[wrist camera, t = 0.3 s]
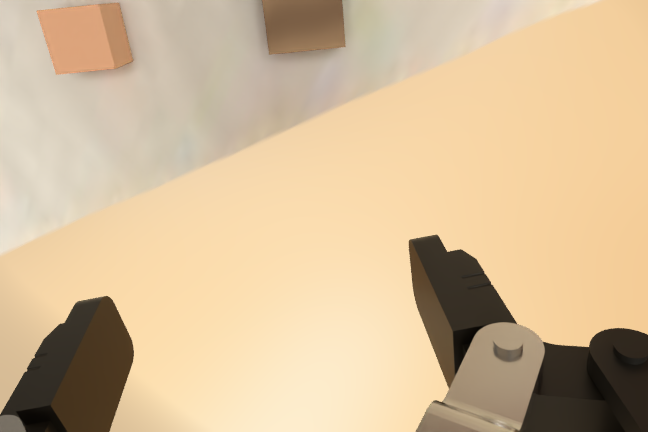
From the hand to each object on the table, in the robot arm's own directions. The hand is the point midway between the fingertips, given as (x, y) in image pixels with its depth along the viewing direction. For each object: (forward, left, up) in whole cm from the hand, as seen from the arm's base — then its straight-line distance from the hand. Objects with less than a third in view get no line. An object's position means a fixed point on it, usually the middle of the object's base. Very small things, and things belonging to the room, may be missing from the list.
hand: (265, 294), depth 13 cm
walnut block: (-6, +2, -28) cm, 29 cm away
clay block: (-6, -13, -28) cm, 31 cm away
